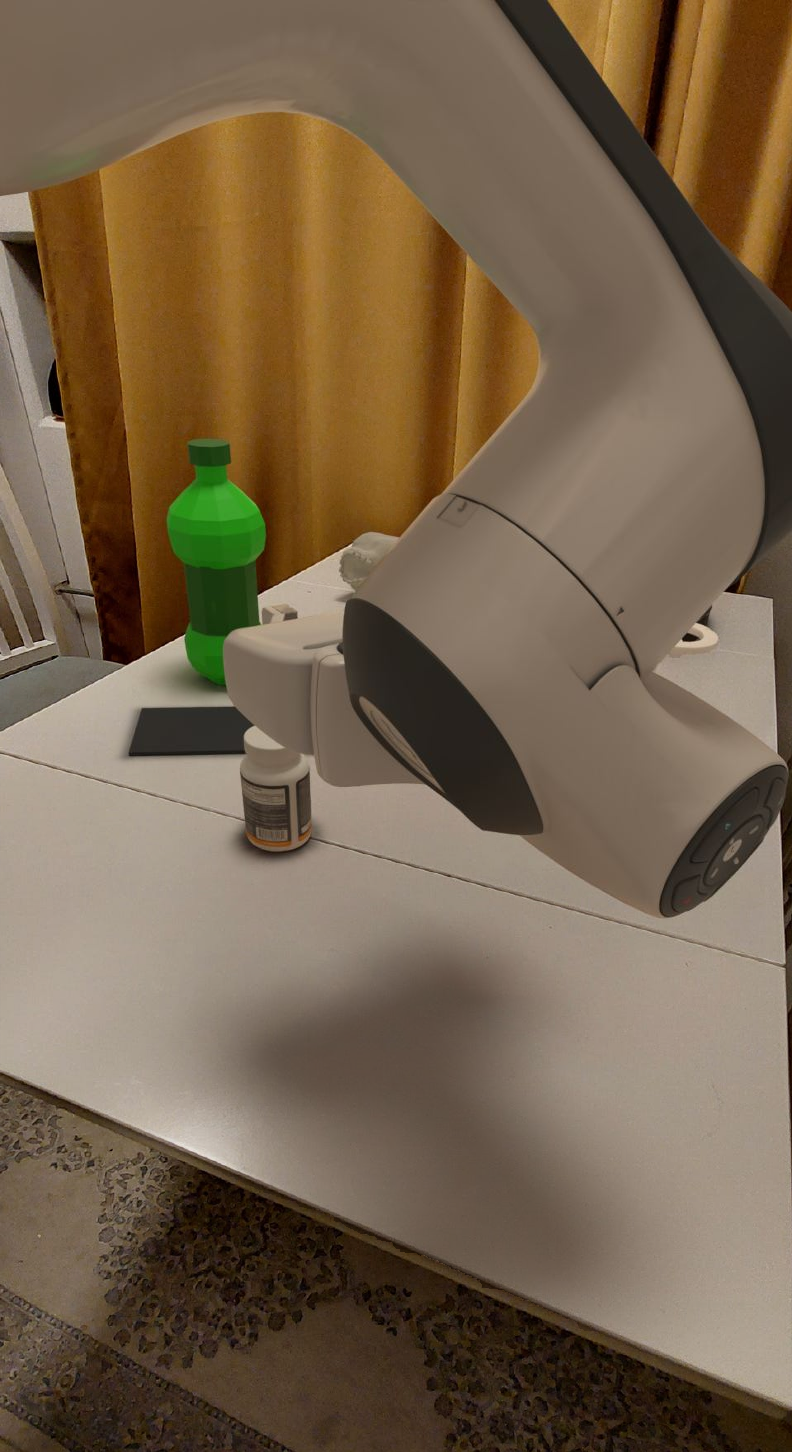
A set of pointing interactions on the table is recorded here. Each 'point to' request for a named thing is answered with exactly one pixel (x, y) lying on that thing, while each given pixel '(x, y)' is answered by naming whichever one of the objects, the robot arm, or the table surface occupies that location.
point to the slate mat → (189, 731)
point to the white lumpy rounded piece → (364, 557)
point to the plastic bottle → (216, 555)
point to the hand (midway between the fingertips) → (344, 606)
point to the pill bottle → (275, 793)
